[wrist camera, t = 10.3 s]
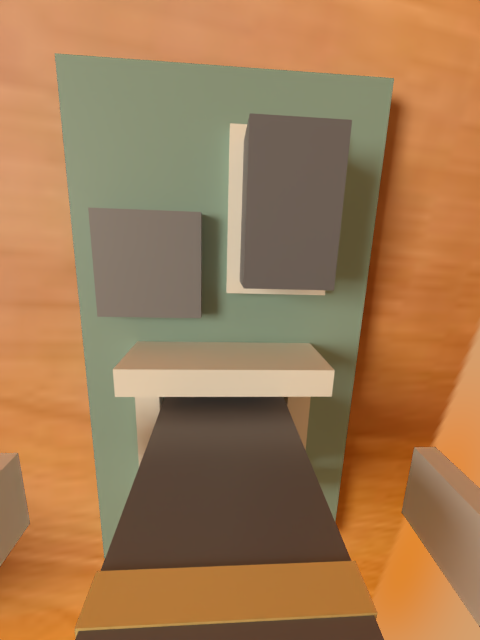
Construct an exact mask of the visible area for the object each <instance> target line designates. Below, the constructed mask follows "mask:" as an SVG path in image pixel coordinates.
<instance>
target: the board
mask: <svg viewBox="0 0 480 640" xmlns="http://www.w3.org/2000/svg"><path fill="white" fill-rule="evenodd" d="M55 61H56V71H57V81H58V92H59V102H60V112H61V122H62V132H63V142H64V153H65V163H66V173H67V183H68V193H69V203H70V214H71V224H72V234H73V244H74V254H75V265H76V275H77V285H78V295H79V305H80V315H81V326H82V336H83V346H84V356H85V366H86V376H87V387H88V397H89V407H90V417H91V427H92V438H93V448H94V458H95V468H96V478H97V488H98V499H99V509H100V519H101V529H102V539H103V549H104V558H106V555H107V552H108V550H109V547H110V544H111V542H112V539H113V536H114V533H115V531H116V528H117V525H118V523H119V520H120V517H121V515H122V512H123V509H124V506H125V504H126V501H127V498H128V496H129V493H130V490H131V488H132V485H133V482H134V479H135V477H136V474H137V471H138V469H139V466H140V463H141V461H142V458H143V455H144V452H145V450H146V447H147V444H148V442H149V439H150V436H151V433H152V431H153V428H154V425H155V423H156V420H157V417H158V415H159V412H160V409H161V406H162V404H163V401H164V398H165V397H284V400H285V402H286V405H287V407H288V409H289V412H290V414H291V417H292V419H293V421H294V424H295V426H296V429H297V431H298V434H299V436H300V438H301V441H302V443H303V446H304V448H305V450H306V453H307V455H308V458H309V460H310V462H311V465H312V467H313V470H314V472H315V475H316V477H317V479H318V482H319V484H320V487H321V489H322V491H323V494H324V496H325V499H326V501H327V503H328V506H329V508H330V511H331V513H332V516H333V518H334V520H335V521H336V513H337V506H338V498H339V490H340V483H341V475H342V468H343V460H344V453H345V445H346V438H347V430H348V422H349V415H350V407H351V400H352V392H353V385H354V377H355V370H356V362H357V354H358V347H359V339H360V332H361V324H362V317H363V309H364V302H365V294H366V286H367V279H368V271H369V264H370V256H371V249H372V241H373V234H374V226H375V219H376V211H377V203H378V196H379V188H380V181H381V173H382V166H383V158H384V151H385V143H386V135H387V128H388V120H389V113H390V105H391V98H392V90H393V83H394V78H383V77H369V76H356V75H342V74H328V73H315V72H301V71H287V70H274V69H260V68H246V67H233V66H219V65H205V64H192V63H178V62H164V61H151V60H137V59H123V58H110V57H96V56H83V55H69V54H55Z"/></svg>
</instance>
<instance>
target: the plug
mask: <svg viewBox="0 0 480 640" xmlns="http://www.w3.org/2000/svg"><path fill="white" fill-rule="evenodd" d="M376 617H377V611H376V608H375V606H374V604H373V601H372V599H371V597H370V594H369V592H368V590H367V587H366V585H365V583H364V580H363V578H362V576H361V573H360V571H359V569H358V566H357V564H356V562H355V561H351V559H350V557H349V554H348V552H347V549H346V547H345V544H344V542H343V540H342V537H341V535H340V532H339V530H338V528H337V525H336V523H335V520H334V518H333V516H332V513H331V511H330V508H329V506H328V503H327V501H326V499H325V496H324V494H323V491H322V489H321V487H320V484H319V482H318V479H317V477H316V475H315V472H314V470H313V467H312V465H311V462H310V460H309V458H308V455H307V453H306V450H305V448H304V446H303V443H302V441H301V438H300V436H299V434H298V431H297V429H296V426H295V424H294V421H293V419H292V417H291V414H290V412H289V409H288V407H287V405H286V402H285V400H284V397H165V398H164V401H163V404H162V406H161V409H160V412H159V415H158V417H157V420H156V423H155V425H154V428H153V431H152V433H151V436H150V439H149V442H148V444H147V447H146V450H145V452H144V455H143V458H142V461H141V463H140V466H139V469H138V471H137V474H136V477H135V479H134V482H133V485H132V488H131V490H130V493H129V496H128V498H127V501H126V504H125V506H124V509H123V512H122V515H121V517H120V520H119V523H118V525H117V528H116V531H115V533H114V536H113V539H112V542H111V544H110V547H109V550H108V552H107V555H106V558H105V560H104V563H103V566H102V569H101V571H96V574H95V577H94V579H93V582H92V584H91V587H90V590H89V592H88V595H87V597H86V600H85V603H84V605H83V608H82V611H81V613H80V616H79V618H78V621H77V624H76V626H75V635H76V639H75V640H384V639H383V636H382V634H381V631H380V629H379V627H378V624H377V622H376Z"/></svg>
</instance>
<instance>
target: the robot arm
mask: <svg viewBox="0 0 480 640" xmlns="http://www.w3.org/2000/svg"><path fill="white" fill-rule="evenodd" d="M402 513H403V515H404V516H405V518H406V519H407V521H408V522H409V523H410V525H411V526H412V528H413V530H414V531H415V532H416V534H417V535H418V537H419V538H420V540H421V541H422V543H423V544H424V546H425V547H426V549H427V550H428V552H429V553H430V555H431V556H432V558H433V559H434V561H435V562H436V563H437V565H438V566H439V568H440V569H441V571H442V572H443V574H444V575H445V577H446V578H447V580H448V581H449V583H450V584H451V585H452V587H453V588H454V590H455V591H456V593H457V594H458V596H459V597H460V598H461V600H462V602H463V603H464V605H465V606H466V608H467V609H468V610H469V612H470V613H471V615H472V616H473V618H474V619H475V621H476V622H477V624H478V625H479V627H480V488H479V487H478V486H477V485H475V484H474V483H473V482H472V481H471V480H470V479H469V478H468V477H467V476H466V475H465V474H464V473H463V472H462V471H460V470H459V469H458V468H457V467H456V466H455V465H454V464H453V463H452V462H450V460H449V459H448V458H447V457H445V456H444V455H443V454H442V453H441V452H440V451H439V450H438V449H437V448H436V447H414V452H413V457H412V462H411V467H410V472H409V477H408V482H407V487H406V492H405V497H404V503H403V508H402ZM29 524H30V520H29V514H28V508H27V502H26V496H25V490H24V484H23V478H22V472H21V467H20V461H19V455H18V453H0V566H1V565H2V563H3V562H4V560H5V559H6V557H7V556H8V555H9V553H10V552H11V550H12V549H13V547H14V546H15V544H16V543H17V541H18V540H19V539H20V537H21V536H22V534H23V533H24V531H25V530H26V528H27V527H28V525H29Z"/></svg>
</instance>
